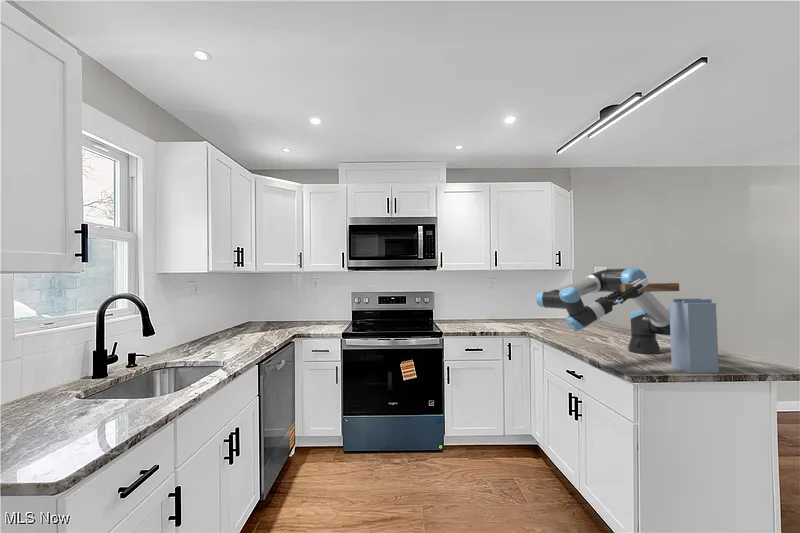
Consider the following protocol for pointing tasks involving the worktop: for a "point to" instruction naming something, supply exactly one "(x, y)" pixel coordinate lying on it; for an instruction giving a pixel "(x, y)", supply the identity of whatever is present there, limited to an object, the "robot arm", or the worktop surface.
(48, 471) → the worktop surface
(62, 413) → the worktop surface
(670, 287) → the brown block
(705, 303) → the tall blue prism
